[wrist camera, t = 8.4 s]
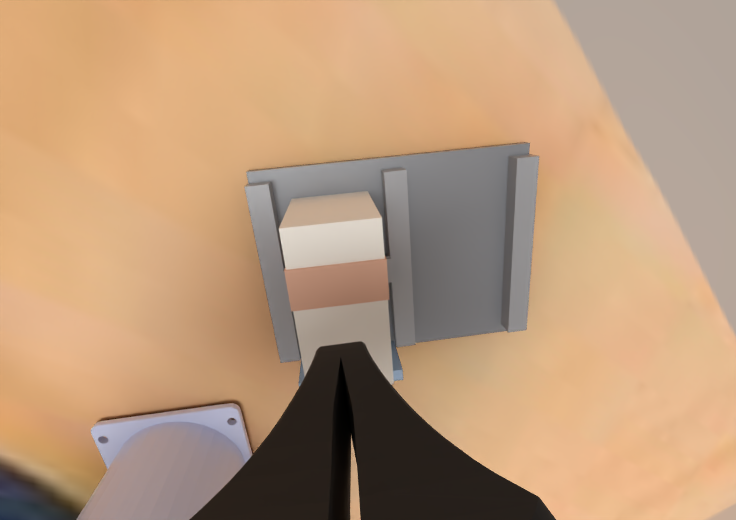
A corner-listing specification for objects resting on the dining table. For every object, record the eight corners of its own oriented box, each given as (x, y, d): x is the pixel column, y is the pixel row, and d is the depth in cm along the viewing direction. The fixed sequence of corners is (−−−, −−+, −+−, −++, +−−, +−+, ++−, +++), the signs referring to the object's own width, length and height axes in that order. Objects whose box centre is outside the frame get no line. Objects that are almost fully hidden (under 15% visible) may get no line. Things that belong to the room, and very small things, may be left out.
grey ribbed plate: (513, 329, 22) (541, 360, 19) (286, 359, 21) (279, 396, 18) (524, 142, 18) (560, 146, 15) (248, 170, 17) (233, 181, 14)
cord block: (379, 322, 20) (395, 385, 15) (311, 330, 20) (306, 397, 15) (368, 190, 18) (383, 218, 13) (290, 198, 17) (276, 229, 13)
